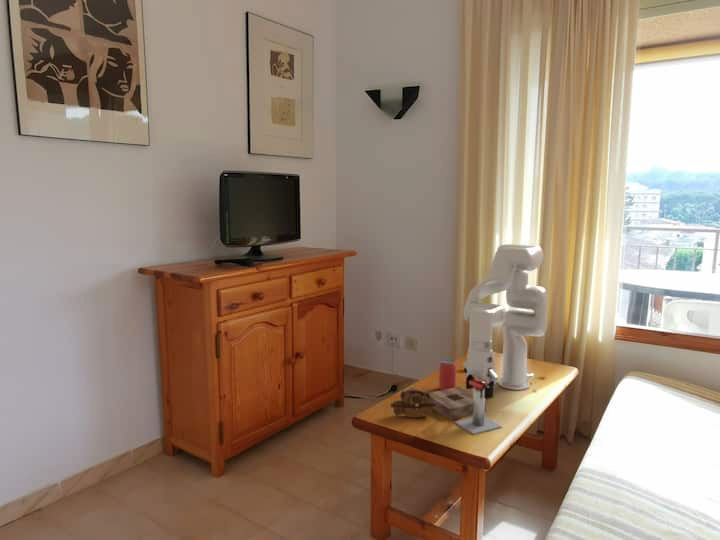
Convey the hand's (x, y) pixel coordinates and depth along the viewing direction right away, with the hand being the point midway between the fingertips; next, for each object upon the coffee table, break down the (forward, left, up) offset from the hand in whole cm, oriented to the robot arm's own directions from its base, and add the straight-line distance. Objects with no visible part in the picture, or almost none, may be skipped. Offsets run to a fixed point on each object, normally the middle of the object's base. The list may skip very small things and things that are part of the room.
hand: (479, 393), depth 176 cm
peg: (0, 0, -11) cm, 11 cm away
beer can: (-10, -32, -12) cm, 36 cm away
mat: (0, 0, -12) cm, 12 cm away
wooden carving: (+16, -16, -12) cm, 26 cm away
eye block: (-2, -16, -12) cm, 20 cm away
